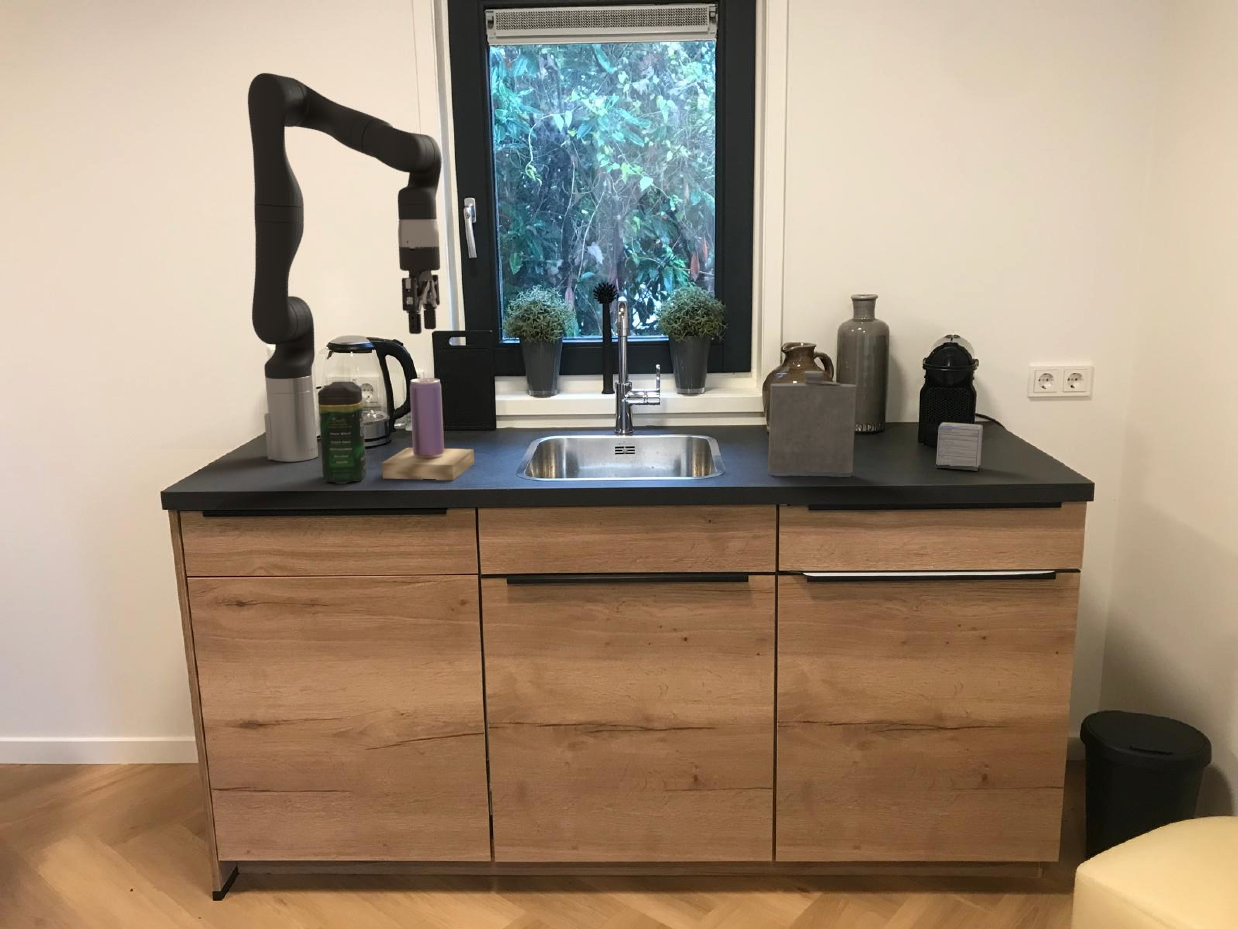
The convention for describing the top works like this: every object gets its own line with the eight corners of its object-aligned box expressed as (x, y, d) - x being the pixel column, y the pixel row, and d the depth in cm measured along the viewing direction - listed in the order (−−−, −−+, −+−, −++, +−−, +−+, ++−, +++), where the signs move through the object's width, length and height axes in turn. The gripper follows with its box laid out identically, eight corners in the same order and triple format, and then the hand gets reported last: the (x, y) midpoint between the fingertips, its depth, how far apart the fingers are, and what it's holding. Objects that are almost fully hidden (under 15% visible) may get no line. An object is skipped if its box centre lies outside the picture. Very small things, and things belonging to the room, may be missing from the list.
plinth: (382, 478, 195) (381, 462, 194) (408, 461, 208) (407, 447, 208) (453, 480, 193) (452, 465, 192) (474, 463, 206) (473, 449, 206)
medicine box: (980, 467, 201) (983, 424, 199) (977, 472, 197) (981, 428, 195) (938, 464, 204) (941, 421, 202) (935, 468, 200) (938, 425, 198)
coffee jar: (363, 484, 191) (356, 385, 187) (320, 485, 190) (312, 386, 186) (370, 472, 200) (364, 378, 196) (329, 473, 199) (322, 379, 195)
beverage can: (437, 459, 197) (434, 382, 193) (408, 458, 198) (404, 382, 194) (448, 453, 202) (445, 378, 199) (420, 452, 204) (416, 377, 200)
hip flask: (768, 476, 195) (771, 372, 190) (767, 471, 199) (770, 369, 194) (853, 478, 193) (858, 373, 188) (850, 473, 197) (855, 370, 192)
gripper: (412, 243, 198) (416, 327, 202) (385, 245, 184) (390, 335, 188) (450, 243, 197) (453, 328, 201) (425, 245, 183) (429, 335, 187)
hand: (423, 331), depth 194 cm, fingers open, 8 cm apart
